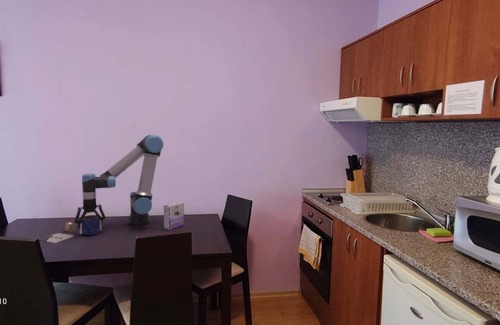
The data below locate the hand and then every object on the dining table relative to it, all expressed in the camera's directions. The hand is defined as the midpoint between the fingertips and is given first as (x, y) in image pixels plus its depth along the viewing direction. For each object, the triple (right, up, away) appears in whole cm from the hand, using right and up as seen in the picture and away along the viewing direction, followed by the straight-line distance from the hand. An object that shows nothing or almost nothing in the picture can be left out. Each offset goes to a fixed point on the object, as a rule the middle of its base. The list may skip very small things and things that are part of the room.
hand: (90, 231), depth 208 cm
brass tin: (-16, -1, +5) cm, 17 cm away
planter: (0, -2, 0) cm, 2 cm away
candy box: (+50, -1, +17) cm, 53 cm away
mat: (-17, -2, -9) cm, 19 cm away
